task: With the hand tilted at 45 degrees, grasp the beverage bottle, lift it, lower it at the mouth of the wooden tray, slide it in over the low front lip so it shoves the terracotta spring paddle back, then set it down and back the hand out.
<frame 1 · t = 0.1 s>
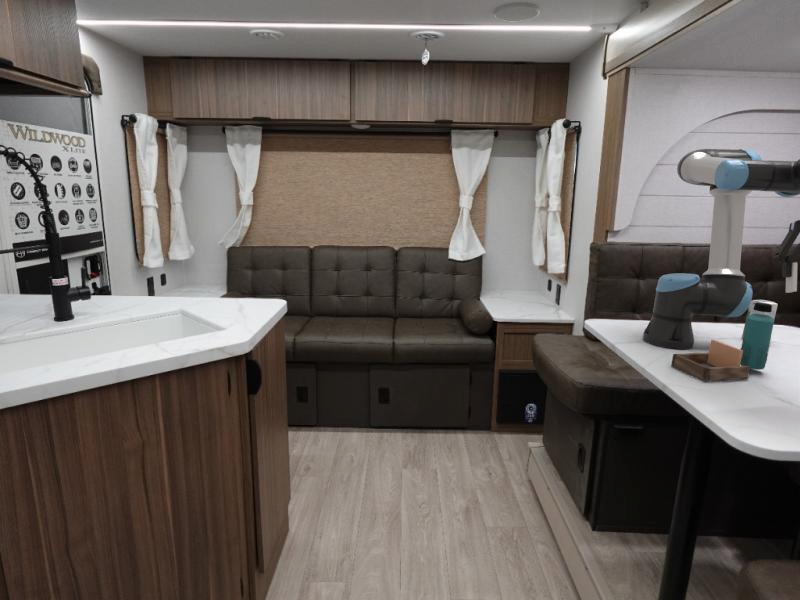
beverage bottle: (749, 371, 140), on the table
syrup box: (755, 342, 170), on the table
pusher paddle: (724, 356, 137), point 5 cm above the table, slide at 0.0 cm
wooden tray: (708, 372, 137), on the table
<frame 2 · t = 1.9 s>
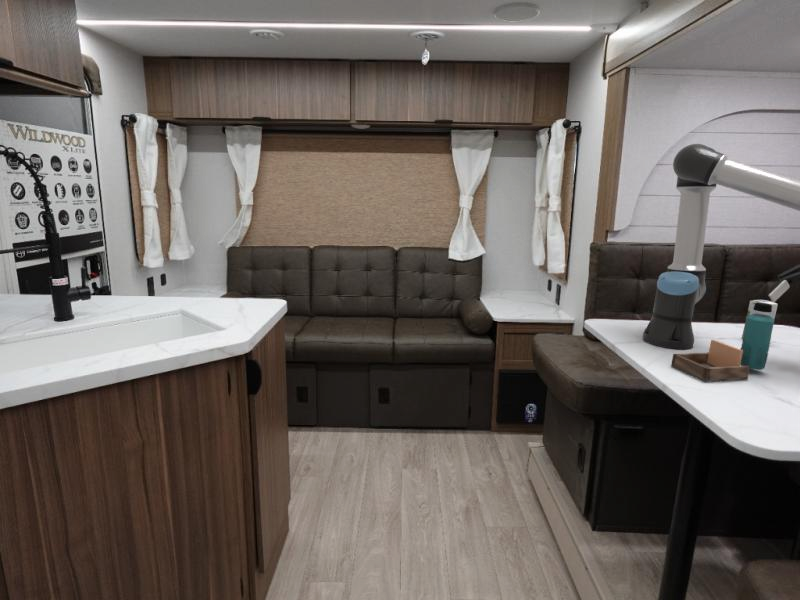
hand: (794, 304, 138), 20 cm above the table, tool tilted 45°, fingers open, 13 cm apart
nothing on the table moved.
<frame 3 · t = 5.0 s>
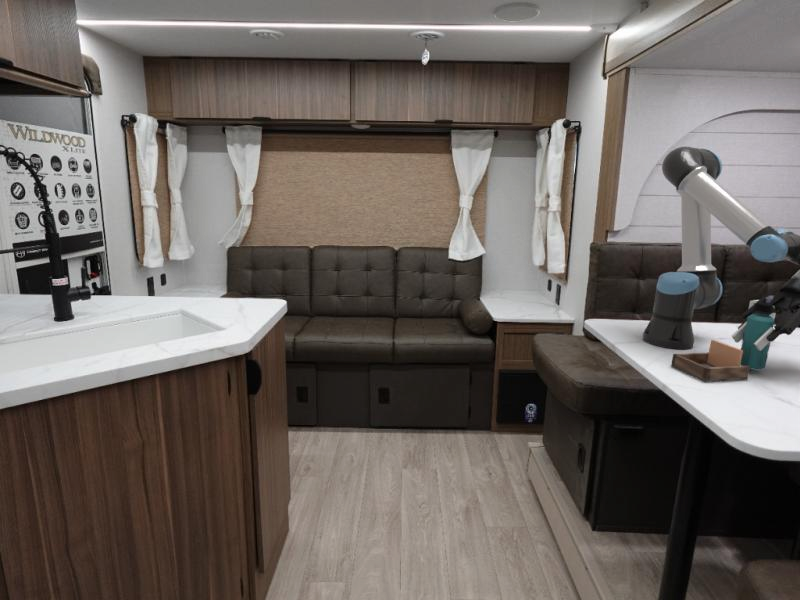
hand: (745, 343, 138), 8 cm above the table, tool tilted 45°, fingers closed on beverage bottle, 6 cm apart
beverage bottle: (749, 371, 140), on the table, touching gripper
everything else where it was.
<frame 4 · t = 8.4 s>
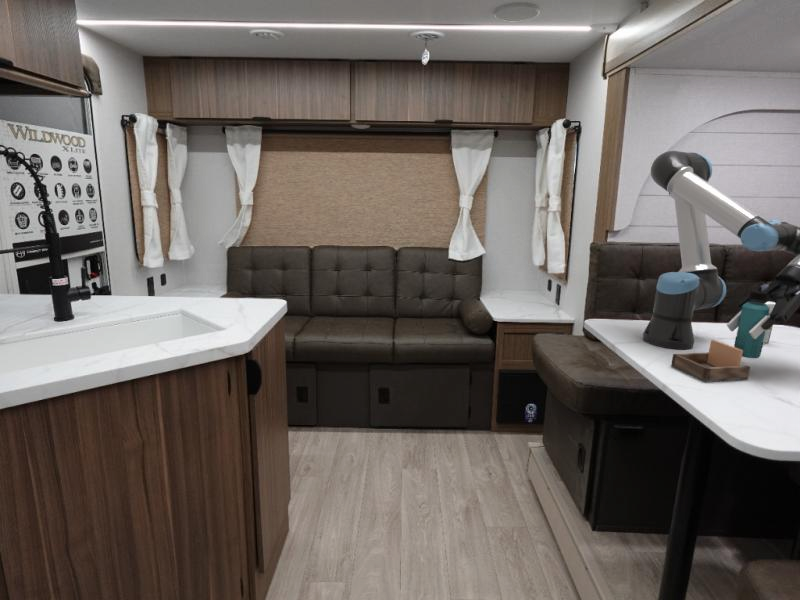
hand: (740, 331, 136), 12 cm above the table, tool tilted 45°, fingers closed on beverage bottle, 6 cm apart
beverage bottle: (744, 360, 139), point 3 cm above the table, touching gripper
everything else where it was.
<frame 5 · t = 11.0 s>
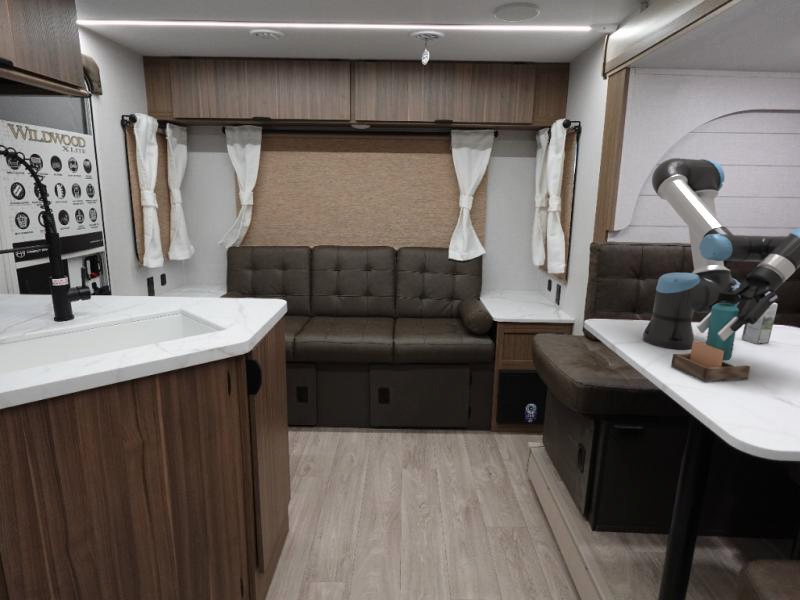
hand: (710, 333, 134), 12 cm above the table, tool tilted 45°, fingers closed on beverage bottle, 6 cm apart
beverage bottle: (716, 362, 137), point 3 cm above the table, touching gripper
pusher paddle: (705, 357, 136), point 5 cm above the table, slide at 6.3 cm
everything else where it was.
when the fingers open (11 cm above the table, at t = 11.5 s): beverage bottle drops 2 cm, resting on wooden tray.
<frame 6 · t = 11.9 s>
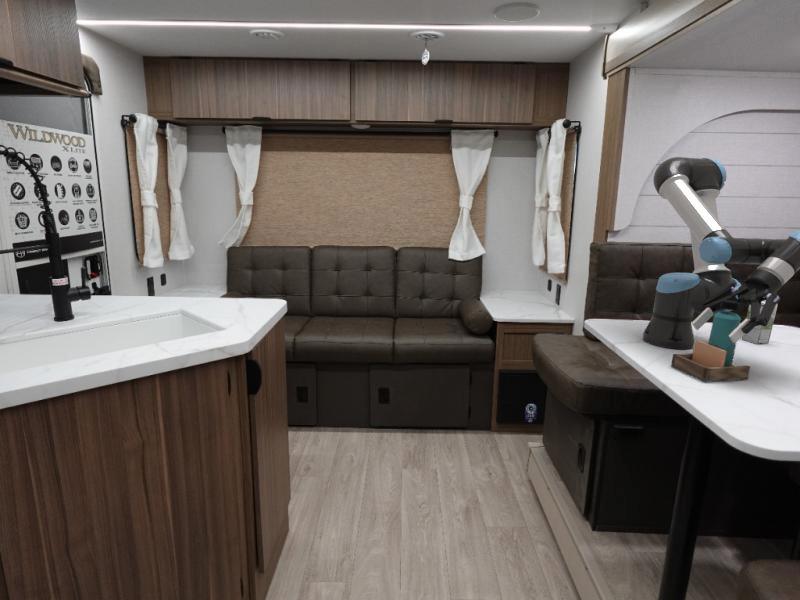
hand: (712, 332, 134), 12 cm above the table, tool tilted 45°, fingers open, 11 cm apart
beverage bottle: (716, 370, 138), point 1 cm above the table, touching wooden tray
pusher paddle: (708, 357, 136), point 5 cm above the table, slide at 5.4 cm
everything else where it was.
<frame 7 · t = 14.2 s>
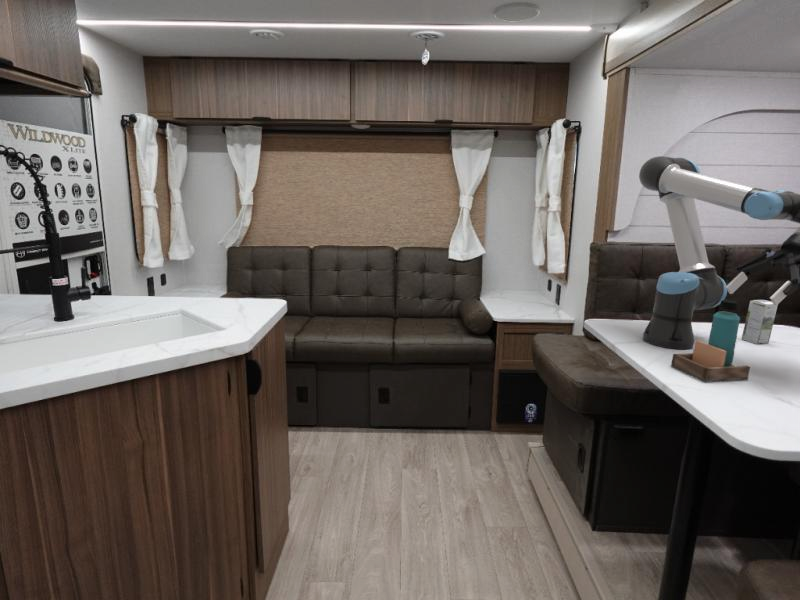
hand: (749, 296, 134), 22 cm above the table, tool tilted 45°, fingers open, 13 cm apart
beverage bottle: (716, 370, 138), point 1 cm above the table, touching wooden tray, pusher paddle
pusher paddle: (708, 357, 136), point 5 cm above the table, slide at 5.5 cm, touching beverage bottle
everything else where it was.
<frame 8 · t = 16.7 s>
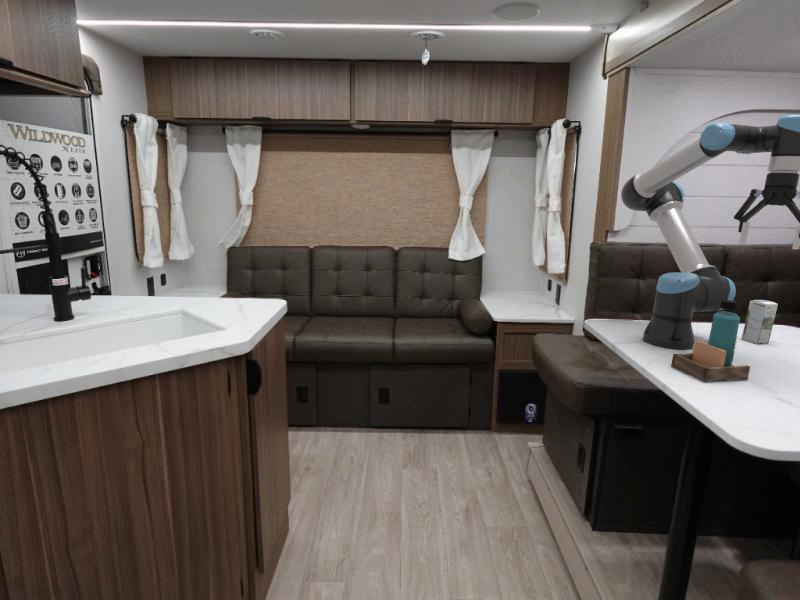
hand: (767, 246, 145), 35 cm above the table, tool pointing down, fingers open, 13 cm apart
nothing on the table moved.
at the end: beverage bottle inside the target area on the wooden tray (1.2 cm from its centre), point 0.6 cm above the wooden tray's base; beverage bottle tilted 0°; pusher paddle slide at 5.5 cm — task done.
